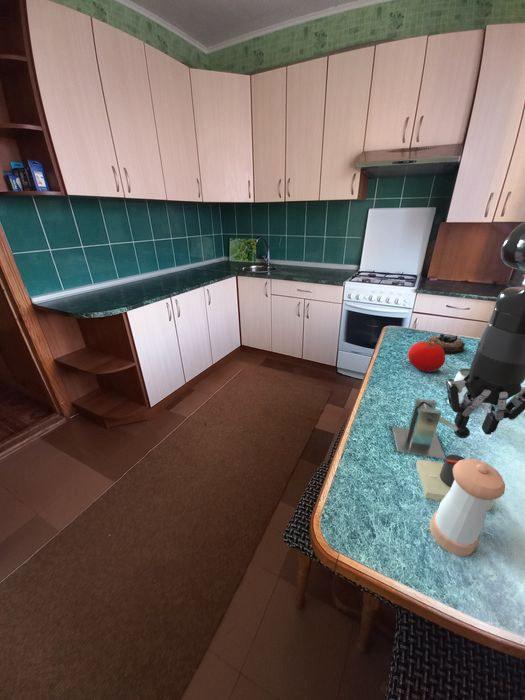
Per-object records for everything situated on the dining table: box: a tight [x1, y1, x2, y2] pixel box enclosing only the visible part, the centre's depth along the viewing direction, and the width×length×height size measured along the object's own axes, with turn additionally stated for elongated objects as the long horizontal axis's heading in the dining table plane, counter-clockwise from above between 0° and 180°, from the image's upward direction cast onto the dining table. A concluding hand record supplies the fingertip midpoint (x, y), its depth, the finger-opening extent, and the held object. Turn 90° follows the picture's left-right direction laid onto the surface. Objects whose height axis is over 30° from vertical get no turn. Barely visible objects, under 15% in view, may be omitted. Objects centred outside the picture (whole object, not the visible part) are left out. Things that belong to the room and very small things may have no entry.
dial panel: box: [415, 458, 494, 512], centre depth 63 cm, size 12×9×3 cm
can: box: [446, 368, 470, 406], centre depth 87 cm, size 6×6×12 cm
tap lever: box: [417, 403, 471, 440], centre depth 71 cm, size 13×3×3 cm, turn 77°
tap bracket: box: [392, 398, 447, 460], centre depth 73 cm, size 11×9×13 cm
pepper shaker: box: [429, 458, 506, 557], centre depth 50 cm, size 7×7×19 cm
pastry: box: [427, 333, 466, 355], centre depth 123 cm, size 11×12×6 cm
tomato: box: [407, 340, 446, 372], centre depth 108 cm, size 11×12×10 cm
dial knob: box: [440, 454, 466, 487], centre depth 61 cm, size 5×5×5 cm
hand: (472, 429), depth 56 cm, fingers open, 4 cm apart
